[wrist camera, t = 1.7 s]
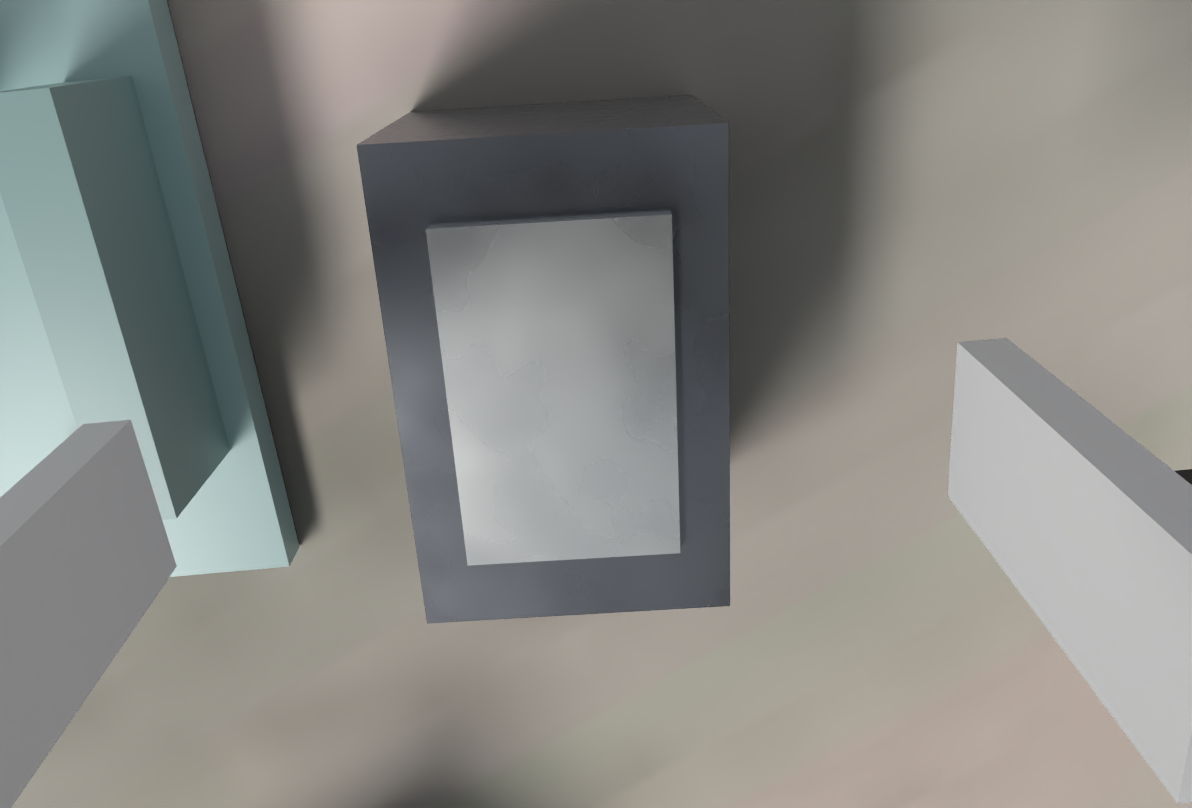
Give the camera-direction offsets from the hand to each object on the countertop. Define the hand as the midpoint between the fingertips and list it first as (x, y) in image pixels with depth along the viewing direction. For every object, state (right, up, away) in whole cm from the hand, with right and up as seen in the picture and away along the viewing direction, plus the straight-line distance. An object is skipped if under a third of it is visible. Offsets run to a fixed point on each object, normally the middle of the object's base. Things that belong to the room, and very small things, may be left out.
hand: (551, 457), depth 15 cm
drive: (0, +3, +9) cm, 9 cm away
